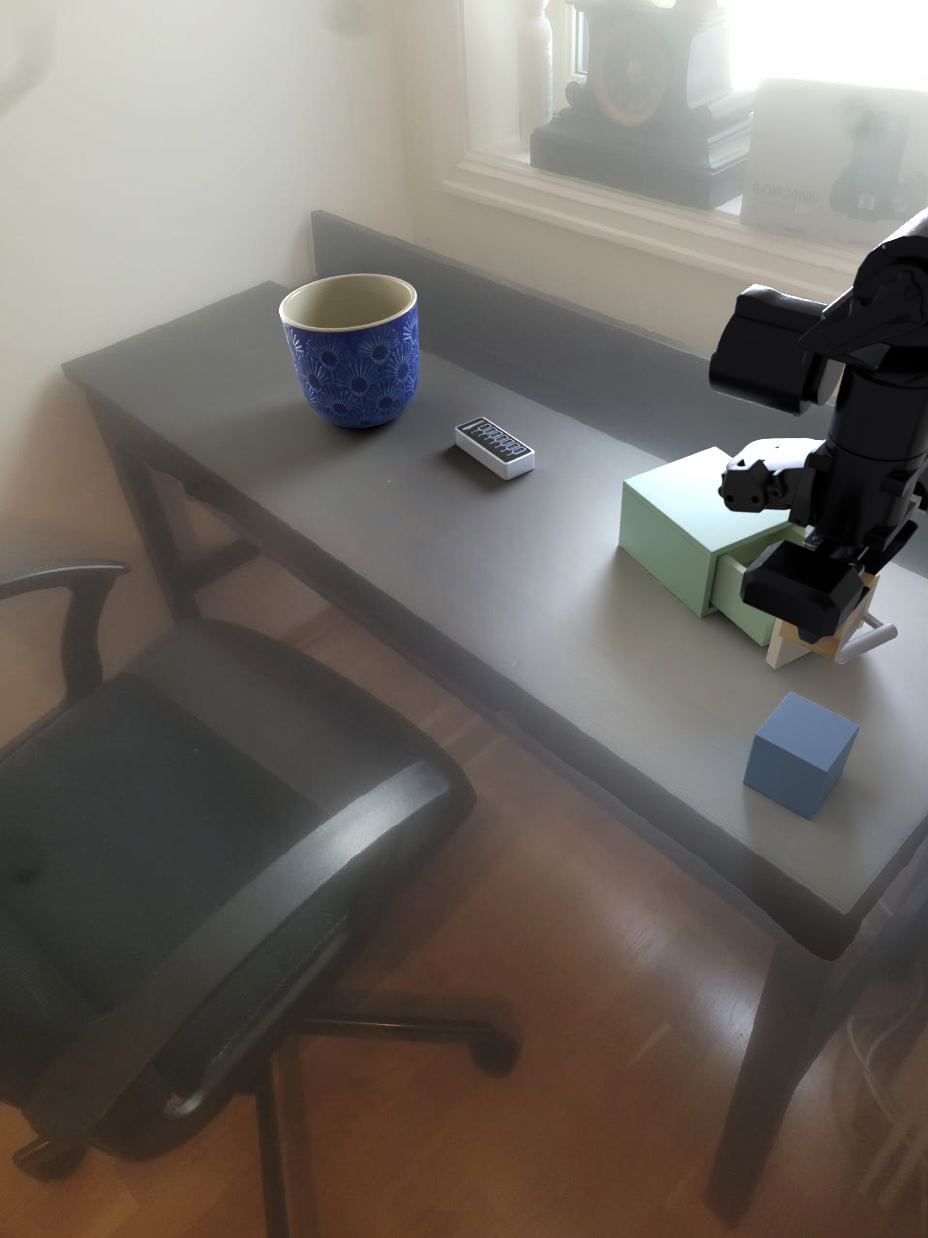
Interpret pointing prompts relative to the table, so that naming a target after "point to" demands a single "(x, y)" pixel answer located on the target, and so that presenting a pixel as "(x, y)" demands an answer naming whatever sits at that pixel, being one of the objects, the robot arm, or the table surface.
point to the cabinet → (687, 525)
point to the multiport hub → (494, 448)
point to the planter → (355, 346)
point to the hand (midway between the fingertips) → (821, 623)
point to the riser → (800, 754)
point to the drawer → (768, 626)
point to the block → (835, 644)
